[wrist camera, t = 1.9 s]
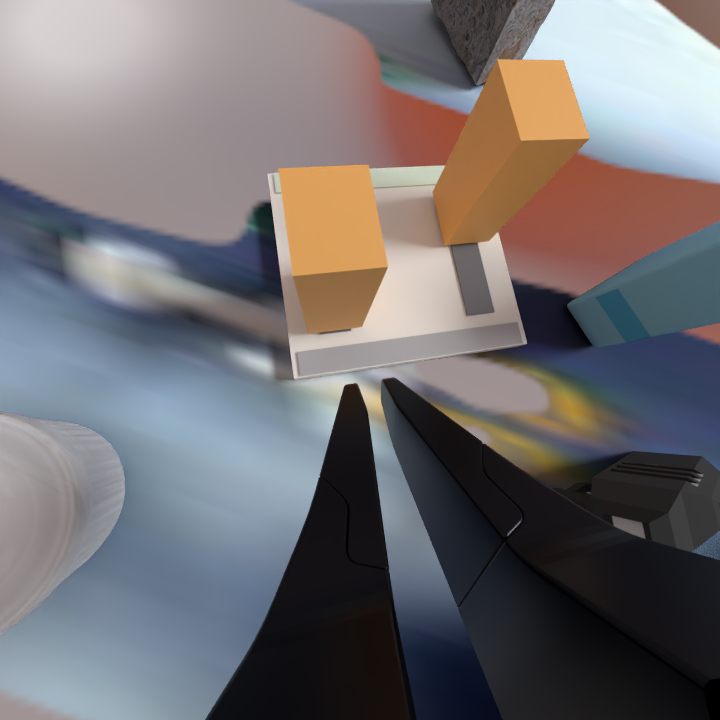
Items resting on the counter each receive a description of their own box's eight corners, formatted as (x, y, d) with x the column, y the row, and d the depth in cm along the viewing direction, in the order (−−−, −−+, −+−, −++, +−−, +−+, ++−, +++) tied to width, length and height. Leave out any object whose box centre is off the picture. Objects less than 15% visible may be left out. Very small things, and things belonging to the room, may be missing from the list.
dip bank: (517, 346, 23) (528, 343, 22) (295, 380, 21) (293, 378, 19) (473, 175, 26) (481, 162, 25) (270, 185, 23) (267, 172, 22)
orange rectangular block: (361, 327, 20) (388, 266, 11) (308, 334, 20) (292, 276, 11) (351, 265, 21) (368, 164, 12) (299, 270, 20) (278, 168, 12)
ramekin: (-94, 530, 17) (-284, 587, 11) (44, 378, 19) (-62, 368, 14) (61, 626, 17) (-58, 725, 12) (180, 464, 19) (125, 486, 14)
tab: (488, 241, 23) (589, 138, 14) (444, 245, 22) (520, 140, 13) (475, 189, 24) (563, 60, 15) (432, 191, 23) (497, 59, 14)
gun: (577, 470, 28) (741, 493, 20) (492, 517, 19) (730, 593, 11) (572, 442, 29) (730, 453, 20) (486, 474, 19) (710, 517, 11)
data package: (585, 351, 24) (828, 301, 12) (557, 309, 25) (767, 221, 13) (671, 294, 26) (947, 205, 15) (644, 256, 27) (892, 139, 15)
